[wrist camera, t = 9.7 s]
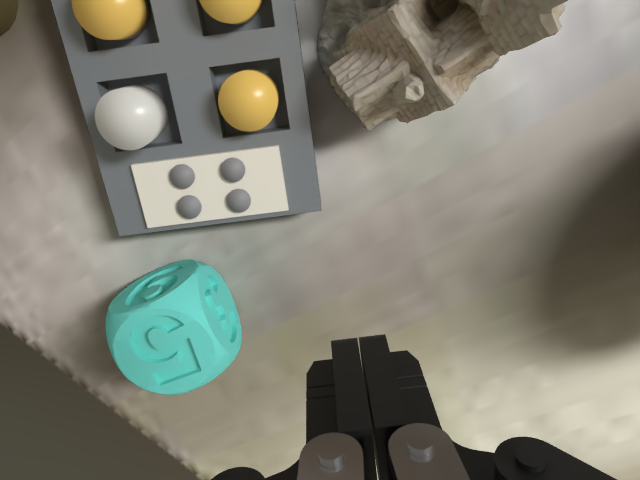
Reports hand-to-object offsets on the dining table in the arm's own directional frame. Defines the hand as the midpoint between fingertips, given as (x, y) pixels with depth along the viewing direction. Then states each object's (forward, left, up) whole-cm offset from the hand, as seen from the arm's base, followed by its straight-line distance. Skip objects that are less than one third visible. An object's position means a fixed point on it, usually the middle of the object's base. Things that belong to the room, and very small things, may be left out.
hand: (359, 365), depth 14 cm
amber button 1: (-12, -13, -27) cm, 32 cm away
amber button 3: (-5, -5, -27) cm, 28 cm away
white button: (-5, -13, -26) cm, 29 cm away
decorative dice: (+12, -14, -29) cm, 35 cm away
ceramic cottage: (-11, +7, -29) cm, 32 cm away
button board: (-6, -9, -29) cm, 31 cm away
